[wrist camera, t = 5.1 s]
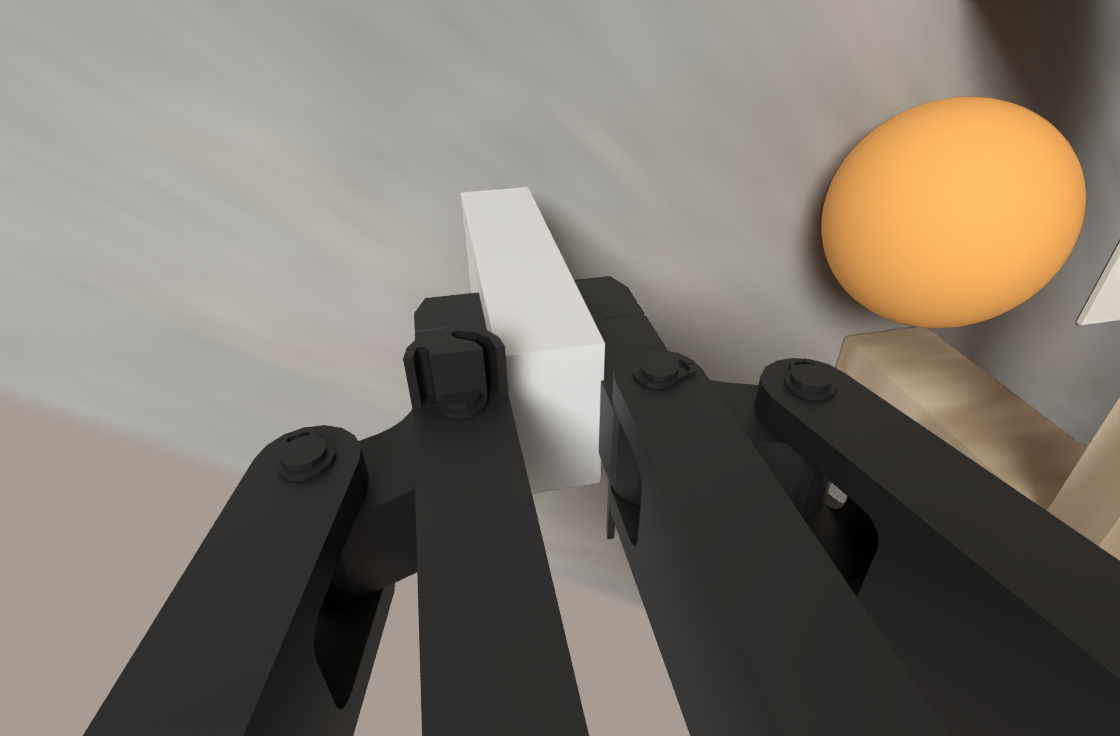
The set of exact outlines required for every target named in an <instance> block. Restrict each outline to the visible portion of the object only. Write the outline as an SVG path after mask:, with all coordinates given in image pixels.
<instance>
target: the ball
mask: <svg viewBox="0 0 1120 736" xmlns="http://www.w3.org/2000/svg"><path fill="white" fill-rule="evenodd" d="M1085 208H1086V190H1085V180H1084V176H1083V171H1082V168H1081V165H1080V163H1079V160H1078V158H1077V156H1076V155H1075V153H1074V151H1073V149H1072V147H1071V146H1070V144H1069V142H1068V141H1067V140H1066V139H1065V137H1064V136H1063V135H1062V134H1061V133H1060V132H1059V131H1058V130H1057V129H1056V128H1055V127H1054V126H1053V125H1052V124H1050V123H1049V122H1048V121H1047V120H1045V119H1044V118H1042V117H1041V116H1039V115H1038V114H1036V113H1034V112H1032V111H1030V110H1029V109H1026V108H1024V107H1022V106H1019V105H1017V104H1014V103H1010V102H1007V101H1002V100H998V99H993V98H984V97H956V98H947V99H942V100H938V101H933V102H929V103H925V104H922V105H919V106H916V107H914V108H911V109H909V110H906V111H904V112H902V113H900V114H898V115H896V116H894V117H892V118H890V119H889V120H887V121H886V122H884V123H883V124H881V125H880V126H879V127H877V128H876V129H874V130H873V131H871V132H870V133H869V134H868V135H867V136H866V137H865V138H864V139H863V140H861V141H860V142H859V143H858V144H857V145H856V146H855V147H854V149H853V150H852V151H851V152H850V153H849V155H848V156H847V157H846V158H845V160H844V161H843V162H842V164H841V166H840V167H839V169H838V171H837V172H836V174H835V176H834V178H833V180H832V182H831V184H830V187H829V190H828V192H827V195H826V198H825V202H824V206H823V212H822V222H821V231H822V241H823V246H824V251H825V255H826V258H827V261H828V263H829V265H830V267H831V270H832V272H833V274H834V275H835V277H836V278H837V280H838V281H839V283H840V284H841V285H842V287H843V288H844V289H845V290H846V291H847V292H848V293H849V294H850V295H851V296H852V297H853V298H854V299H855V300H856V301H857V302H859V303H860V304H861V305H863V306H864V307H866V308H867V309H868V310H870V311H872V312H874V313H876V314H878V315H880V316H882V317H884V318H886V319H889V320H892V321H895V322H898V323H901V324H906V325H911V326H916V327H922V328H949V327H960V326H965V325H970V324H974V323H978V322H982V321H985V320H988V319H991V318H994V317H996V316H999V315H1001V314H1003V313H1005V312H1007V311H1009V310H1011V309H1013V308H1015V307H1017V306H1019V305H1020V304H1022V303H1023V302H1025V301H1026V300H1028V299H1029V298H1030V297H1032V296H1033V295H1034V294H1036V293H1037V292H1038V291H1039V290H1041V289H1042V288H1043V287H1044V286H1045V285H1046V284H1047V283H1048V282H1049V281H1050V280H1051V279H1052V278H1053V277H1054V276H1055V274H1056V273H1057V272H1058V271H1059V270H1060V269H1061V267H1062V266H1063V265H1064V263H1065V262H1066V260H1067V259H1068V257H1069V255H1070V254H1071V252H1072V250H1073V248H1074V246H1075V244H1076V241H1077V239H1078V237H1079V234H1080V231H1081V228H1082V225H1083V221H1084V216H1085Z"/></svg>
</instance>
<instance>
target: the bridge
mask: <svg viewBox="0 0 1120 736" xmlns="http://www.w3.org/2000/svg"><path fill="white" fill-rule="evenodd" d="M836 368H837V369H838V370H840V371H842V372H844V373H846V374H847V375H849V376H850V377H852V378H853V379H855V380H856V381H857V382H859V383H860V384H862V385H863V386H865V387H866V388H868V389H869V390H871V391H872V392H874V393H875V394H876V395H878V396H879V397H881V398H882V399H884V400H885V401H887V402H888V403H890V404H891V405H893V406H894V407H896V408H897V409H898V410H900V411H901V412H903V413H904V414H906V415H907V416H909V417H910V418H912V419H913V420H915V421H916V422H918V423H919V424H920V425H922V426H923V427H925V428H926V429H928V430H929V431H931V432H932V433H934V434H935V435H937V436H938V437H939V438H941V439H942V440H944V441H945V442H947V443H948V444H950V445H951V446H953V447H954V448H956V449H957V450H959V451H960V452H961V453H963V454H964V455H966V456H967V457H969V458H970V459H972V460H973V461H975V462H976V463H978V464H979V465H980V466H982V467H983V468H985V469H986V470H988V471H989V472H991V473H992V474H994V475H995V476H997V477H998V478H1000V479H1001V480H1002V481H1004V482H1005V483H1007V484H1008V485H1010V486H1011V487H1013V488H1014V489H1016V490H1017V491H1019V492H1020V493H1021V494H1023V495H1024V496H1026V497H1027V498H1029V499H1030V500H1032V501H1033V502H1035V503H1036V504H1038V505H1039V506H1041V507H1042V508H1043V509H1045V510H1046V511H1048V512H1049V513H1051V514H1052V515H1054V516H1055V517H1057V518H1058V519H1060V520H1061V521H1063V522H1064V523H1065V524H1067V525H1068V526H1070V527H1071V528H1073V529H1074V530H1076V531H1077V532H1079V533H1080V534H1082V535H1083V536H1084V537H1086V538H1087V539H1089V540H1090V541H1092V542H1093V543H1095V544H1096V545H1098V546H1099V547H1101V548H1102V549H1104V550H1105V551H1106V552H1108V553H1109V554H1111V555H1112V556H1114V557H1115V558H1117V559H1118V560H1120V397H1119V399H1118V401H1117V402H1116V404H1115V405H1114V407H1113V408H1112V410H1111V411H1110V413H1109V415H1108V416H1107V418H1106V419H1105V421H1104V422H1103V424H1102V426H1101V427H1100V429H1099V430H1098V432H1097V433H1096V435H1095V437H1094V438H1093V440H1092V441H1091V443H1090V444H1089V446H1088V447H1087V448H1085V447H1084V446H1083V445H1081V444H1080V443H1079V442H1078V441H1076V440H1075V439H1074V438H1072V437H1071V436H1070V435H1068V434H1067V433H1066V432H1064V431H1063V430H1062V429H1060V428H1059V427H1058V426H1056V425H1055V424H1054V423H1052V422H1051V421H1050V420H1048V419H1047V418H1046V417H1045V416H1043V415H1042V414H1041V413H1039V412H1038V411H1037V410H1035V409H1034V408H1033V407H1031V406H1030V405H1029V404H1027V403H1026V402H1025V401H1023V400H1022V399H1021V398H1019V397H1018V396H1017V395H1015V394H1014V393H1013V392H1012V391H1010V390H1009V389H1008V388H1006V387H1005V386H1004V385H1002V384H1001V383H1000V382H998V381H997V380H996V379H994V378H993V377H992V376H990V375H989V374H988V373H986V372H985V371H984V370H982V369H981V368H980V367H979V366H977V365H976V364H975V363H973V362H972V361H971V360H969V359H968V358H967V357H965V356H964V355H963V354H961V353H960V352H959V351H957V350H956V349H955V348H953V347H952V346H951V345H949V344H948V343H947V342H946V341H944V340H943V339H942V338H940V337H939V336H938V335H936V334H935V333H934V332H932V331H931V330H930V329H928V328H922V327H913V328H906V329H898V330H891V331H883V332H876V333H868V334H861V335H853V336H846V337H845V340H844V343H843V346H842V350H841V353H840V356H839V360H838V363H837V367H836Z"/></svg>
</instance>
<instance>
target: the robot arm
mask: <svg viewBox="0 0 1120 736" xmlns="http://www.w3.org/2000/svg"><path fill="white" fill-rule="evenodd" d="M461 200H462V210H463V219H464V228H465V238H466V247H467V256H468V266H469V275H470V284H471V293H469V294H460V295H450V296H441V297H432V298H425V299H424V301H423V302H422V303H421V305H420V306H419V307H418V309H417V310H416V312H415V313H414V322H415V341H414V342H413V343H412V344H410V345H409V346H408V347H407V349H406V352H405V355H404V358H403V361H404V366H405V371H406V377H407V382H408V387H409V392H410V398H411V403H412V410H411V412H410V413H409V414H408V415H407V416H406V417H405V418H404V419H403V420H402V421H401V422H399V423H398V424H396V425H395V426H393V427H392V428H390V429H388V430H386V431H383V432H381V433H379V434H377V435H374V436H371V437H369V438H366V439H363V440H360V441H358V440H357V439H356V437H355V435H353V434H352V433H350V432H348V431H346V430H345V429H343V428H339V427H332V426H326V425H322V426H314V427H305V428H301V429H299V430H296V431H293V432H290V433H287V434H284V435H282V436H281V437H279V438H278V439H276V440H274V441H273V442H271V443H270V444H268V445H267V446H266V447H265V448H264V449H263V450H262V451H261V452H260V453H259V454H258V455H257V456H256V458H255V459H254V460H253V462H252V463H251V465H250V466H249V468H248V470H247V471H246V473H245V475H244V476H243V478H242V479H241V481H240V483H239V484H238V486H237V488H236V489H235V491H234V492H233V494H232V496H231V497H230V499H229V500H228V502H227V504H226V505H225V507H224V508H223V510H222V512H221V513H220V515H219V517H218V518H217V520H216V521H215V523H214V525H213V527H212V528H211V529H210V531H209V533H208V534H207V536H206V538H205V539H204V541H203V542H202V544H201V546H200V547H199V549H198V551H197V552H196V554H195V555H194V557H193V559H192V560H191V562H190V563H189V565H188V567H187V568H186V570H185V572H184V573H183V575H182V576H181V578H180V580H179V581H178V583H177V584H176V586H175V588H174V589H173V591H172V592H171V594H170V596H169V597H168V599H167V601H166V602H165V604H164V606H163V607H162V609H161V610H160V612H159V613H158V615H157V617H156V618H155V620H154V622H153V623H152V625H151V626H150V628H149V630H148V631H147V633H146V635H145V636H144V638H143V639H142V641H141V643H140V644H139V646H138V648H137V649H136V651H135V652H134V654H133V656H132V657H131V659H130V661H129V662H128V664H127V665H126V667H125V669H124V670H123V672H122V673H121V675H120V677H119V678H118V680H117V681H116V683H115V685H114V686H113V688H112V689H111V691H110V693H109V694H108V696H107V698H106V699H105V701H104V702H103V704H102V706H101V707H100V709H99V711H98V712H97V714H96V715H95V717H94V718H93V720H92V722H91V723H90V725H89V727H88V728H87V730H86V731H85V733H84V735H83V736H353V735H354V731H355V727H356V724H357V721H358V717H359V713H360V710H361V707H362V703H363V700H364V696H365V693H366V689H367V685H368V682H369V679H370V675H371V672H372V668H373V665H374V661H375V658H376V654H377V650H378V647H379V643H380V640H381V636H382V633H383V629H384V626H385V622H386V619H387V615H388V612H389V608H390V605H391V601H392V598H393V594H394V588H395V582H397V581H400V580H401V579H404V578H406V577H408V576H410V575H412V574H414V573H416V572H417V574H418V606H419V607H418V608H419V641H420V672H421V673H420V674H421V675H420V677H421V708H422V709H421V711H422V736H589V734H588V729H587V726H586V721H585V717H584V713H583V708H582V704H581V700H580V695H579V691H578V687H577V683H576V679H575V674H574V670H573V666H572V662H571V657H570V653H569V649H568V645H567V641H566V636H565V632H564V628H563V624H562V619H561V615H560V611H559V607H558V602H557V598H556V594H555V589H554V585H553V581H552V577H551V573H550V568H549V564H548V560H547V556H546V551H545V547H544V543H543V539H542V534H541V530H540V526H539V522H538V517H537V513H536V509H535V505H534V500H533V496H532V494H533V493H539V492H545V491H551V490H558V489H564V488H570V487H576V486H582V485H588V484H594V483H600V473H601V460H602V463H603V466H604V468H605V471H606V474H607V476H608V479H609V482H608V504H607V526H606V529H607V539H613V538H614V531H615V526H616V528H617V531H618V534H619V537H620V540H621V542H622V545H623V548H624V551H625V554H626V556H627V559H628V562H629V565H630V568H631V570H632V573H633V576H634V579H635V582H636V584H637V587H638V590H639V593H640V596H641V599H642V601H643V604H644V607H645V610H646V613H647V615H648V618H649V621H650V624H651V627H652V629H653V632H654V635H655V638H656V641H657V643H658V646H659V649H660V652H661V654H662V657H663V660H664V663H665V666H666V669H667V671H668V674H669V677H670V680H671V682H672V686H673V688H674V691H675V694H676V697H677V700H678V702H679V705H680V708H681V711H682V714H683V716H684V719H685V722H686V725H687V727H688V730H689V733H690V736H1120V560H1118V559H1117V558H1115V557H1114V556H1112V555H1111V554H1109V553H1108V552H1106V551H1105V550H1104V549H1102V548H1101V547H1099V546H1098V545H1096V544H1095V543H1093V542H1092V541H1090V540H1089V539H1087V538H1086V537H1084V536H1083V535H1082V534H1080V533H1079V532H1077V531H1076V530H1074V529H1073V528H1071V527H1070V526H1068V525H1067V524H1065V523H1064V522H1063V521H1061V520H1060V519H1058V518H1057V517H1055V516H1054V515H1052V514H1051V513H1049V512H1048V511H1046V510H1045V509H1043V508H1042V507H1041V506H1039V505H1038V504H1036V503H1035V502H1033V501H1032V500H1030V499H1029V498H1027V497H1026V496H1024V495H1023V494H1021V493H1020V492H1019V491H1017V490H1016V489H1014V488H1013V487H1011V486H1010V485H1008V484H1007V483H1005V482H1004V481H1002V480H1001V479H1000V478H998V477H997V476H995V475H994V474H992V473H991V472H989V471H988V470H986V469H985V468H983V467H982V466H980V465H979V464H978V463H976V462H975V461H973V460H972V459H970V458H969V457H967V456H966V455H964V454H963V453H961V452H960V451H959V450H957V449H956V448H954V447H953V446H951V445H950V444H948V443H947V442H945V441H944V440H942V439H941V438H939V437H938V436H937V435H935V434H934V433H932V432H931V431H929V430H928V429H926V428H925V427H923V426H922V425H920V424H919V423H918V422H916V421H915V420H913V419H912V418H910V417H909V416H907V415H906V414H904V413H903V412H901V411H900V410H898V409H897V408H896V407H894V406H893V405H891V404H890V403H888V402H887V401H885V400H884V399H882V398H881V397H879V396H878V395H876V394H875V393H874V392H872V391H871V390H869V389H868V388H866V387H865V386H863V385H862V384H860V383H859V382H857V381H856V380H855V379H853V378H852V377H850V376H849V375H847V374H846V373H844V372H842V371H840V370H838V369H837V368H835V367H833V366H831V365H829V364H825V363H822V362H818V361H815V360H811V359H797V358H791V359H785V360H779V361H776V362H774V363H772V364H770V365H768V366H766V367H765V369H764V371H763V373H762V374H761V377H760V382H759V385H750V384H736V383H724V382H718V381H711V380H709V379H708V377H707V376H706V374H705V373H704V371H703V370H702V369H701V368H700V367H699V366H698V365H697V364H696V363H695V362H694V361H693V360H692V359H689V358H687V357H685V356H683V355H681V354H679V353H675V352H670V351H668V350H667V348H666V347H665V345H664V344H663V342H662V341H661V339H660V337H659V336H658V334H657V333H656V331H655V329H654V328H653V326H652V325H651V323H650V322H649V320H648V318H647V317H646V316H644V312H643V310H642V309H641V307H640V306H639V304H637V301H636V299H635V298H634V296H633V295H632V293H631V292H630V290H629V288H628V287H626V286H625V285H623V284H622V283H620V282H618V281H617V280H615V279H613V278H612V277H610V276H607V277H598V278H589V279H580V280H573V277H572V275H571V273H570V271H569V269H568V267H567V265H566V263H565V261H564V259H563V257H562V255H561V253H560V251H559V249H558V247H557V245H556V243H555V241H554V239H553V237H552V235H551V233H550V231H549V229H548V227H547V225H546V223H545V221H544V219H543V217H542V215H541V212H540V210H539V208H538V206H537V204H536V202H535V200H534V198H533V196H532V194H531V192H530V190H529V188H528V187H523V188H511V189H499V190H487V191H475V192H463V193H461ZM831 482H832V483H833V484H834V485H835V486H837V487H838V488H839V489H840V490H841V491H842V492H844V493H845V494H846V495H847V499H846V502H845V503H840V502H839V501H837V500H836V499H834V498H833V497H832V496H831V495H829V494H828V490H829V487H830V484H831Z"/></svg>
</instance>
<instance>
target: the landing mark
mask: <svg viewBox="0 0 1120 736" xmlns="http://www.w3.org/2000/svg"><path fill="white" fill-rule="evenodd" d="M1116 320H1120V242H1119V244H1118V246H1117V248H1116V250H1115V252H1114V254H1113V255H1112V257H1111V259H1110V261H1109V263H1108V265H1107V266H1106V268H1105V270H1104V272H1103V274H1102V276H1101V278H1100V279H1099V281H1098V283H1097V285H1096V287H1095V289H1094V290H1093V292H1092V294H1091V296H1090V298H1089V300H1088V302H1087V303H1086V305H1085V307H1084V309H1083V311H1082V313H1081V315H1080V316H1079V318H1078V320H1077V322H1076V323H1078V324H1079V325H1087V324H1095V323H1102V322H1109V321H1116Z"/></svg>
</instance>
